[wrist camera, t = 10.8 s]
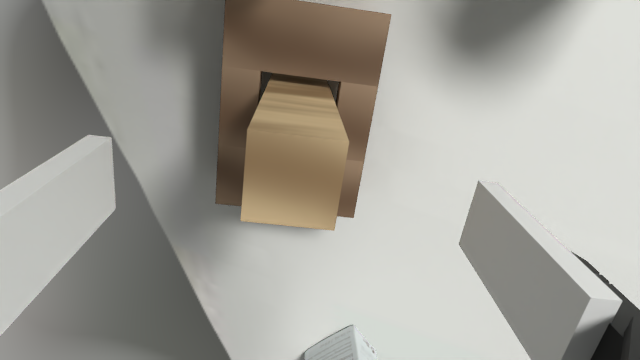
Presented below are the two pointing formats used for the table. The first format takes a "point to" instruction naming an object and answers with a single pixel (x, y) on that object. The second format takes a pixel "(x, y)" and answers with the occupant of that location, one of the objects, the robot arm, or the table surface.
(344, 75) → the bridge
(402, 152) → the table surface
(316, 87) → the peg long
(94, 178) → the robot arm
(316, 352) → the skincare box
